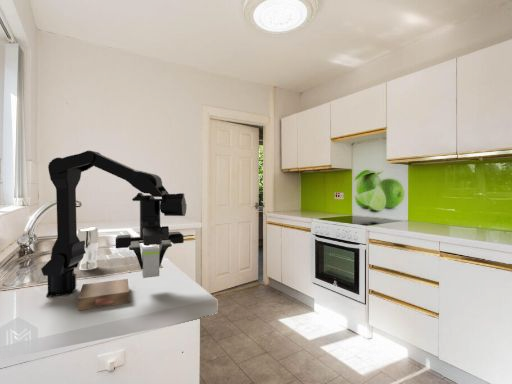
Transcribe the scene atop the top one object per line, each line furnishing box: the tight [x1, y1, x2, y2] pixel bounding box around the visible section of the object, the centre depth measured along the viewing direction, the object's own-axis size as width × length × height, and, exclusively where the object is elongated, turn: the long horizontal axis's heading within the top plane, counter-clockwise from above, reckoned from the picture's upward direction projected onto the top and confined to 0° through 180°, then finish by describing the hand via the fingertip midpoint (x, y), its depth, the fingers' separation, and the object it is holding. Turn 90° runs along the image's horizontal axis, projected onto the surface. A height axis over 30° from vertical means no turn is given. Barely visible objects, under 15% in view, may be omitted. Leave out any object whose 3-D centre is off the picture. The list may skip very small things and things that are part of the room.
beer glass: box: [77, 227, 100, 271], centre depth 111 cm, size 7×7×15 cm
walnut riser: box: [77, 278, 130, 311], centre depth 82 cm, size 12×12×3 cm
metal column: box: [141, 245, 160, 279], centre depth 87 cm, size 4×4×8 cm
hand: (150, 268), depth 87 cm, fingers closed on metal column, 4 cm apart
